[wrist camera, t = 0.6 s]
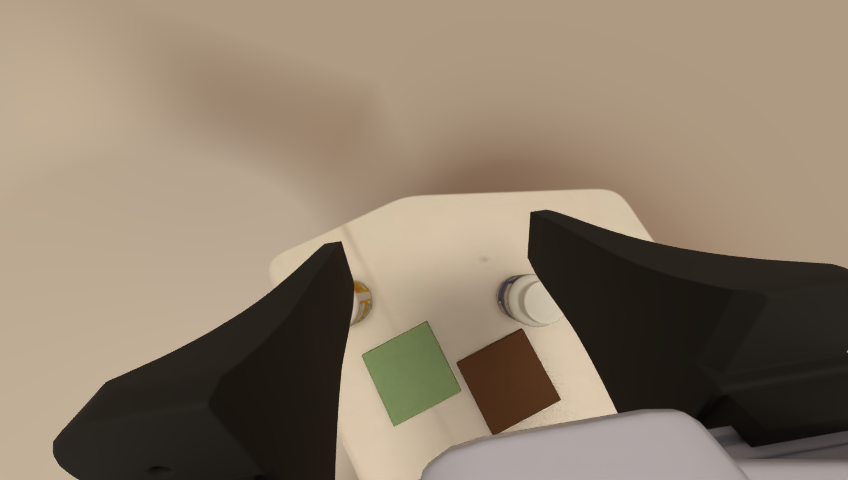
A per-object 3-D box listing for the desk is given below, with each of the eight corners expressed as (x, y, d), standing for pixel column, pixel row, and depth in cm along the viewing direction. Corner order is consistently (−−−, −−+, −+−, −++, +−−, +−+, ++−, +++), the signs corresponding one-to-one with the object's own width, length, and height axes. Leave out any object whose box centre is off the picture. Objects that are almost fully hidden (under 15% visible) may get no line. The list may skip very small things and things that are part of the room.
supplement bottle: (326, 288, 38) (288, 290, 29) (365, 274, 38) (341, 272, 29) (337, 329, 38) (303, 345, 28) (377, 315, 38) (357, 326, 28)
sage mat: (460, 389, 36) (461, 391, 35) (394, 424, 36) (393, 426, 35) (426, 321, 37) (426, 321, 37) (362, 354, 37) (361, 355, 36)
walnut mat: (559, 397, 35) (561, 399, 35) (492, 433, 35) (493, 436, 35) (521, 328, 37) (522, 328, 36) (456, 362, 36) (456, 363, 36)
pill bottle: (541, 278, 37) (577, 277, 28) (537, 321, 37) (573, 336, 27) (498, 272, 38) (519, 269, 28) (493, 315, 37) (513, 327, 27)
